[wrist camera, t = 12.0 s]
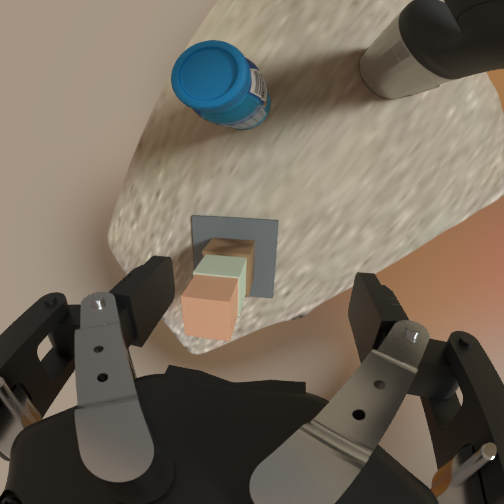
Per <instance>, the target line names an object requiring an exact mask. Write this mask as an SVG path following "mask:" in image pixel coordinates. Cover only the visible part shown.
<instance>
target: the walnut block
mask: <svg viewBox="0 0 504 504" xmlns="http://www.w3.org/2000/svg"><path fill="white" fill-rule="evenodd" d="M206 254H208V255H220V256H233V257H245V258H247V259H246V294H245V297H249V295H250V291H251V287H252V283H253V279H254V254H255V240H242V239H228V238H212V239H211V240H210V242H209V243H208V244H207V245H206V247H205V248H204V249H203V251H202V256H203V257H204V256H205V255H206Z"/></svg>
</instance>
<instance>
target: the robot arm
mask: <svg viewBox="0 0 504 504" xmlns="http://www.w3.org/2000/svg"><path fill="white" fill-rule="evenodd" d="M444 1H445V3H444V2H442V1H439V0H413V1H412V2H410V3H409V4H408V5H407V6H406V7H405V8H404V9H403V10H402V12H401V13H400V14H399V15H398V16H397V17H396V18H395V19H394V20H393V21H392V22H391V24H390V25H389V26H388V27H387V28H386V29H385V30H384V31H383V32H382V33H381V35H380V36H379V37H378V38H377V39H376V40H375V41H374V42H373V44H372V45H371V46H370V47H369V48H368V49H367V50H366V51H365V52H364V54H363V55H362V57H361V59H360V65H359V68H360V73H361V76H362V78H363V80H364V82H365V84H366V85H367V86H368V87H369V88H370V89H371V90H372V91H373V92H374V93H376V94H378V95H379V96H382V97H384V98H388V99H397V98H401V97H404V96H407V95H411V96H412V95H415V94H418V93H421V92H425V91H428V90H431V89H434V88H437V87H439V86H440V84H443V83H446V82H449V81H452V80H455V79H459V78H463V77H466V76H470V75H474V74H478V73H482V72H487V71H490V70H497V69H504V0H444ZM174 294H175V287H174V277H173V267H172V260H171V258H170V257H164V256H153V257H151V258H150V259H149V260H148V261H147V262H146V263H145V264H144V265H141V266H139V267H137V268H135V269H133V270H132V271H131V272H130V273H129V274H128V275H127V276H126V277H125V278H123V280H121V281H120V282H119V283H118V284H117V285H116V286H115V287H114V288H113V289H112V290H110V292H96V293H93V294H91V295H88V296H87V297H85V298H84V299H83V300H82V302H81V305H68V304H67V300H66V297H65V295H64V294H62V293H57V292H56V293H50V294H47V295H45V296H43V297H41V298H40V299H39V300H38V301H37V302H35V303H34V304H33V305H32V306H31V307H30V308H29V309H28V310H26V311H25V312H24V313H23V314H22V315H21V316H20V317H19V318H18V319H17V320H16V321H15V322H13V323H12V325H10V326H9V327H8V328H7V329H6V330H5V331H4V332H3V333H2V334H1V335H0V457H1V458H3V459H4V460H6V461H10V463H9V473H8V478H7V483H6V486H5V489H4V491H3V493H2V495H1V496H0V504H504V384H503V383H502V381H501V379H500V377H499V375H498V374H497V372H496V370H495V368H494V366H493V364H492V363H491V361H490V359H489V358H488V356H487V354H486V353H485V351H484V349H483V348H482V346H481V345H480V343H479V342H478V340H477V339H476V338H475V337H474V336H472V335H470V334H469V333H466V332H463V331H455V332H453V333H451V335H450V337H449V339H448V341H447V342H444V341H438V340H434V339H430V335H429V332H428V330H427V329H426V328H425V327H424V326H422V325H421V324H419V323H417V322H414V321H410V320H409V319H408V317H407V315H406V313H405V312H404V310H403V308H402V307H401V305H400V303H399V301H398V300H397V298H396V296H395V295H394V293H393V291H391V290H390V289H389V288H387V287H386V286H385V285H381V284H380V282H379V280H378V279H377V277H376V275H375V274H374V273H359V272H358V273H357V274H356V276H355V280H354V285H353V290H352V294H351V299H350V303H349V309H348V316H349V321H350V325H351V328H352V331H353V335H354V339H355V343H356V346H357V350H358V354H359V358H360V361H361V365H360V366H359V368H358V369H357V370H356V371H355V372H354V374H353V375H352V376H351V377H350V379H349V380H348V381H347V382H346V383H345V385H344V386H343V387H342V388H341V390H339V392H338V393H337V394H336V395H335V396H334V397H333V399H332V400H331V401H330V402H329V401H328V400H326V399H324V398H322V397H319V396H317V395H314V394H311V393H307V392H306V386H305V385H306V383H305V382H294V381H279V380H264V381H252V382H238V383H235V382H229V381H227V380H224V379H221V378H218V377H216V376H213V375H210V374H208V373H205V372H202V371H199V370H193V369H188V368H182V367H177V366H172V365H169V366H168V368H167V370H166V372H165V374H153V375H147V376H143V377H139V378H137V377H136V373H135V370H134V367H133V363H132V359H131V356H130V352H129V349H128V348H129V346H130V345H134V346H138V347H142V346H143V345H144V343H145V342H146V340H147V339H148V337H149V336H150V334H151V333H152V331H153V329H154V328H155V326H156V325H157V323H158V322H159V321H160V319H161V318H162V316H163V315H164V313H165V312H166V310H167V309H168V307H169V306H170V305H171V303H172V301H173V299H174ZM47 335H48V337H49V339H50V342H51V344H52V346H53V347H52V349H51V350H50V351H49V352H48V353H47V354H46V356H45V357H44V358H43V359H42V361H41V362H40V360H39V358H38V355H37V348H38V346H39V344H40V343H41V342H42V341H43V339H44V338H45V337H46V336H47ZM74 370H75V375H76V390H77V401H78V405H77V406H74V407H72V408H69V409H67V410H65V411H62V412H60V413H57V414H55V415H53V416H50V417H48V418H45V419H43V420H42V418H43V417H44V415H45V413H46V412H47V410H48V409H49V407H50V406H51V404H52V403H53V401H54V399H55V398H56V396H57V395H58V393H59V392H60V390H61V389H62V388H63V386H64V384H65V383H66V382H67V380H68V379H69V377H70V376H71V374H72V373H73V372H74ZM458 387H460V389H461V391H462V394H463V403H462V406H461V405H460V403H459V400H458V397H457V395H456V390H457V389H458ZM406 394H411V395H417V396H420V398H421V401H422V405H423V408H424V412H425V416H426V419H427V423H428V427H429V431H430V435H431V440H432V444H433V448H434V453H435V458H436V463H437V468H438V471H437V472H436V473H435V475H434V477H433V479H432V486H431V489H429V488H428V487H427V486H426V485H425V484H424V483H422V482H421V481H420V480H418V478H416V477H415V476H414V475H413V474H412V473H410V472H409V471H408V470H407V469H406V468H404V467H403V466H402V465H401V464H400V463H399V462H398V461H396V460H395V459H394V458H393V457H392V456H391V455H390V454H388V453H387V452H386V451H385V450H384V449H383V448H382V447H380V446H379V445H378V443H379V441H380V440H381V438H382V437H383V435H384V433H385V432H386V430H387V428H388V427H389V425H390V423H391V422H392V420H393V418H394V416H395V415H396V413H397V411H398V409H399V407H400V405H401V403H402V401H403V400H404V398H405V396H406Z"/></svg>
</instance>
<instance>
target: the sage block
mask: <svg viewBox="0 0 504 504" xmlns="http://www.w3.org/2000/svg"><path fill="white" fill-rule="evenodd" d="M246 259H247V258H245V257H233V256H220V255H208V254H206V255H205V256H204V257H203V259H202V260H201V262H200V263H199V264H198V266H197V267H196V269H195V270H194V271H193V277H194V276H195V274H198V275H208V276H218V277H229V278H238V316H237V317H239V315H240V312H241V308H242V305H243V301H244V298H245V294H246Z"/></svg>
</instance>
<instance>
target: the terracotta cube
mask: <svg viewBox="0 0 504 504" xmlns="http://www.w3.org/2000/svg"><path fill="white" fill-rule="evenodd" d="M181 304H182V312H183V321H184V329H185V335H190V336H196V337H203V338H210V339H217V340H224V341H230V340H231V336H232V333H233V330H234V326H235V323H236V320H237V316H238V278H229V277H218V276H208V275H198V274H195V276H194V277H193V279H192V280H191V282H190V283H189V285H188V286H187V288H186V289H185V290H184V292H183V293H182V295H181Z"/></svg>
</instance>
